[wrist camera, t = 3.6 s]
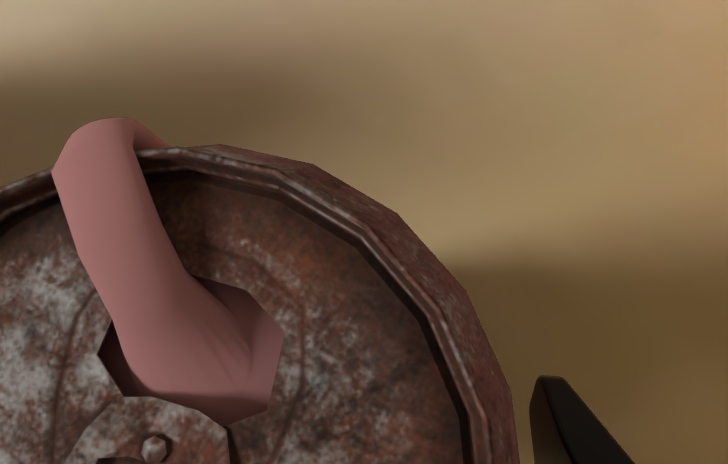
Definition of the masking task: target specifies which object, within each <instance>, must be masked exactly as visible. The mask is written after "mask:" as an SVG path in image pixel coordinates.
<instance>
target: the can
mask: <svg viewBox="0 0 728 464" xmlns="http://www.w3.org/2000/svg"><path fill="white" fill-rule="evenodd" d="M0 464H520V461H519V453H518V445H517V437H516V429H515V421H514V413H513V404H512V396H511V390H510V388H509V386H508V384H507V381H506V379H505V377H504V375H503V373H502V370H501V368H500V366H499V364H498V361H497V359H496V357H495V355H494V353H493V350H492V348H491V346H490V344H489V341H488V339H487V337H486V335H485V332H484V330H483V328H482V326H481V324H480V321H479V319H478V317H477V315H476V312H475V310H474V308H473V306H472V304H471V301H470V299H469V297H468V295H467V292H466V290H465V289H464V288H463V287H462V286H461V285H460V283H459V282H458V281H457V280H456V279H455V278H454V277H453V276H452V274H451V273H450V272H449V271H448V270H447V269H446V268H445V267H444V266H443V264H442V263H441V262H440V261H439V260H438V259H437V258H436V257H435V255H434V254H433V253H432V252H431V251H430V250H429V249H428V248H427V246H426V245H425V244H424V243H423V242H422V241H421V240H420V239H419V237H418V236H417V235H416V234H415V233H414V232H413V231H412V230H411V229H410V227H409V226H408V225H407V224H406V223H405V222H404V221H403V220H402V218H401V217H400V216H399V215H398V214H397V213H396V212H394V211H392V210H390V209H389V208H387V207H385V206H384V205H382V204H380V203H378V202H377V201H375V200H373V199H372V198H370V197H368V196H366V195H365V194H363V193H361V192H360V191H358V190H356V189H355V188H353V187H351V186H349V185H348V184H346V183H344V182H343V181H341V180H339V179H337V178H336V177H334V176H332V175H331V174H329V173H327V172H325V171H324V170H322V169H320V168H319V167H317V166H315V165H313V164H310V163H305V162H300V161H296V160H291V159H287V158H282V157H277V156H273V155H268V154H264V153H259V152H254V151H250V150H245V149H241V148H236V147H231V146H227V145H222V144H218V145H208V146H197V147H187V148H182V147H170V146H169V145H167V144H166V143H165V142H164V141H162V140H161V139H160V138H158V137H157V136H156V135H155V134H153V133H152V132H151V131H150V130H148V129H147V128H146V127H144V126H143V125H142V124H140V123H139V122H137V121H136V120H133V119H129V118H109V119H100V120H97V121H94V122H90V123H88V124H86V125H84V126H82V127H80V128H79V129H78V130H76V131H75V132H74V133H73V134H72V135H71V136H70V138H69V139H68V141H67V143H66V144H65V146H64V148H63V150H62V152H61V154H60V156H59V158H58V160H57V162H56V164H55V166H53V167H50V168H48V169H45V170H43V171H41V172H38V173H36V174H33V175H31V176H28V177H26V178H24V179H21V180H19V181H16V182H14V183H11V184H9V185H6V186H4V187H2V188H0Z"/></svg>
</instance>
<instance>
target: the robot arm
mask: <svg viewBox="0 0 728 464" xmlns="http://www.w3.org/2000/svg"><path fill="white" fill-rule="evenodd" d="M529 416H530V426H531V434H532V443H533V452H534V461H535V464H635V463H634V462H633V461H632V460H631V458H630V457H629V456H628V455H627V453H626V452H625V451H624V450H623V449H622V447H621V446H620V445H619V444H618V443H617V441H616V440H615V439H614V438H613V437H612V435H611V434H610V433H609V432H608V431H607V429H606V428H605V427H604V426H603V425H602V423H601V422H600V421H599V420H598V419H597V417H596V416H595V415H594V414H593V413H592V411H591V410H590V409H589V408H588V407H587V405H586V404H585V403H584V402H583V401H582V399H581V398H580V397H579V396H578V395H577V393H576V392H575V391H574V390H573V389H572V387H571V386H570V385H569V384H568V383H567V381H566V380H565V379H563V378H562V377H559V376H544V375H542V376H539V377H538V378H537V380H536V384H535V387H534V391H533V394H532V398H531V401H530V407H529Z"/></svg>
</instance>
